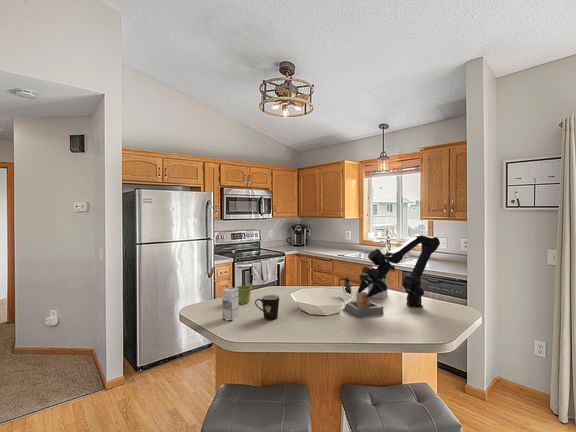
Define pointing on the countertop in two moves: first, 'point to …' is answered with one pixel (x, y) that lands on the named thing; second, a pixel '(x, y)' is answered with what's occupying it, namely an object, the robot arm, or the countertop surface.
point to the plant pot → (244, 294)
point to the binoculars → (347, 286)
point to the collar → (364, 309)
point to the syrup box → (230, 303)
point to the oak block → (362, 300)
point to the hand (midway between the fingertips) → (362, 294)
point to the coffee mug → (269, 306)
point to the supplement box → (381, 294)
